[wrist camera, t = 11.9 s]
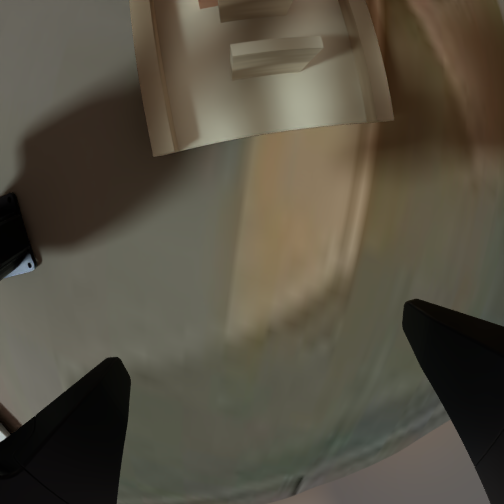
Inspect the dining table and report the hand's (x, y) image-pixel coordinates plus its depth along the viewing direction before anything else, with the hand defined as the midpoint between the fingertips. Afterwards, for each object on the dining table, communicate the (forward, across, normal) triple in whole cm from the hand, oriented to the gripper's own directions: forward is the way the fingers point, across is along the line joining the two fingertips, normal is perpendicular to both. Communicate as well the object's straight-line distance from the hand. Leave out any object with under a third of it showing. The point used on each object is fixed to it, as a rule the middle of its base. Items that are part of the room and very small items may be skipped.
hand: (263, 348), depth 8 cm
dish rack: (+12, -3, -16) cm, 20 cm away
